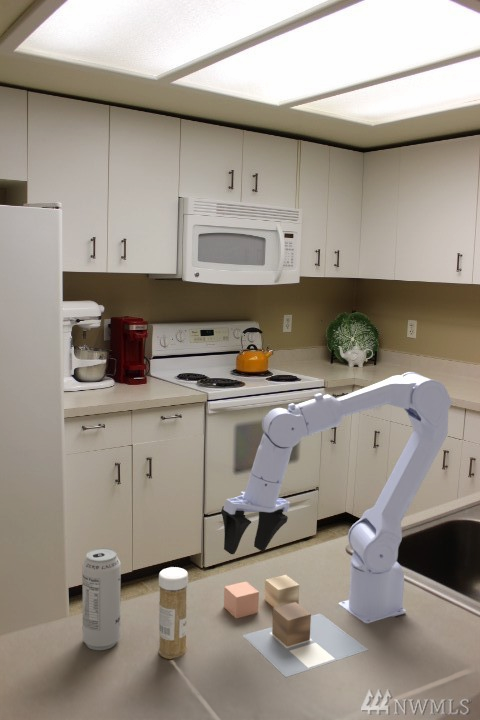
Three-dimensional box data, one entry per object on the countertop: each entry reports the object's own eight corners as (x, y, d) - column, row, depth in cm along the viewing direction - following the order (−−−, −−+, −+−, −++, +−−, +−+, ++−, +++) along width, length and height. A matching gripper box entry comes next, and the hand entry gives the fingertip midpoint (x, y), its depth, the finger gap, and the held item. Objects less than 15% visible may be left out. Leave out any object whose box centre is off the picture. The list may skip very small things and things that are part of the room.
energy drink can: (125, 646, 108) (126, 557, 106) (89, 656, 105) (89, 565, 103) (112, 628, 113) (112, 543, 111) (77, 637, 110) (77, 550, 108)
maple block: (284, 597, 126) (285, 574, 125) (298, 608, 122) (299, 584, 121) (264, 602, 124) (265, 579, 123) (277, 613, 120) (278, 590, 119)
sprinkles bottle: (191, 655, 106) (193, 574, 104) (166, 663, 103) (167, 581, 102) (178, 641, 110) (179, 563, 108) (152, 649, 107) (153, 569, 106)
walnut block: (294, 626, 114) (295, 602, 114) (309, 639, 110) (310, 614, 110) (272, 633, 112) (273, 608, 111) (287, 646, 108) (288, 620, 108)
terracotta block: (245, 604, 123) (246, 581, 122) (258, 615, 119) (258, 591, 118) (223, 610, 121) (224, 586, 120) (235, 621, 117) (236, 597, 116)
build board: (320, 615, 119) (320, 613, 119) (368, 652, 108) (368, 649, 108) (242, 638, 111) (242, 635, 111) (285, 680, 100) (285, 677, 100)
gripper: (277, 469, 123) (256, 537, 124) (221, 467, 113) (199, 542, 114) (305, 484, 118) (283, 555, 119) (250, 483, 108) (226, 561, 109)
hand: (244, 550), depth 116 cm, fingers open, 7 cm apart
